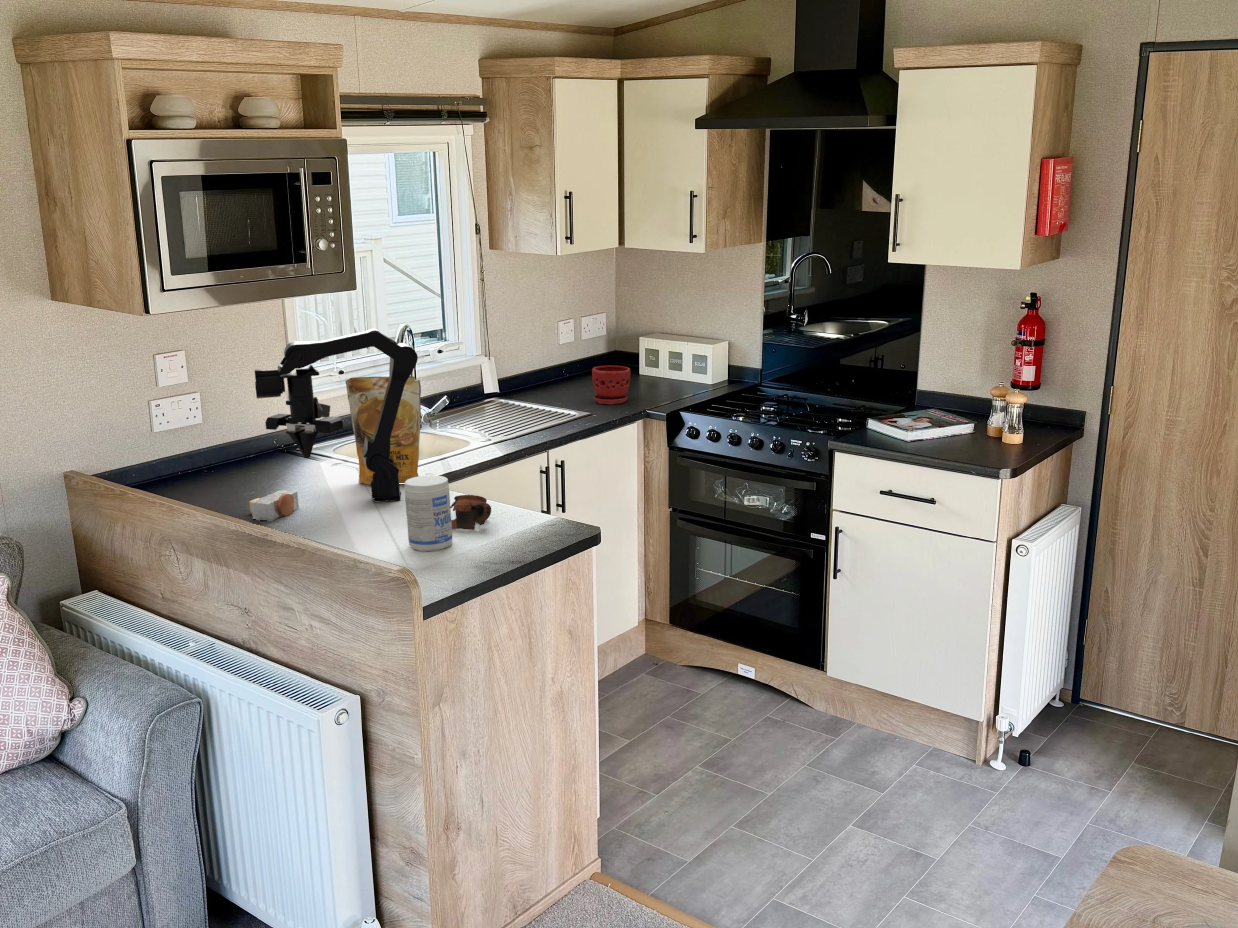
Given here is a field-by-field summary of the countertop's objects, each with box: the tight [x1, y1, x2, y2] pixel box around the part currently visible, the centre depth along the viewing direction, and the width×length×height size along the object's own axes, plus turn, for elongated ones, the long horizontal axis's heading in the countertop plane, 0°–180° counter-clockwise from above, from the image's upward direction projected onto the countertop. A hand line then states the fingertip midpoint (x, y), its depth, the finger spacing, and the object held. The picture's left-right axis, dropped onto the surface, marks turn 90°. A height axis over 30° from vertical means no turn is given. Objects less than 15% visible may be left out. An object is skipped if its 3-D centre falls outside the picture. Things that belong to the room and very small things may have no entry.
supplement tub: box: [404, 474, 453, 552], centre depth 247 cm, size 10×10×15 cm
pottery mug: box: [450, 494, 492, 531], centre depth 262 cm, size 12×10×8 cm
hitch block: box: [251, 489, 300, 522], centre depth 275 cm, size 5×11×4 cm, turn 159°
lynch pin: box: [248, 494, 294, 517], centre depth 276 cm, size 10×5×5 cm, turn 69°
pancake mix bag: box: [344, 375, 422, 486], centre depth 298 cm, size 7×19×28 cm, turn 86°
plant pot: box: [591, 365, 631, 405], centre depth 392 cm, size 13×13×12 cm
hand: (307, 457), depth 277 cm, fingers closed
